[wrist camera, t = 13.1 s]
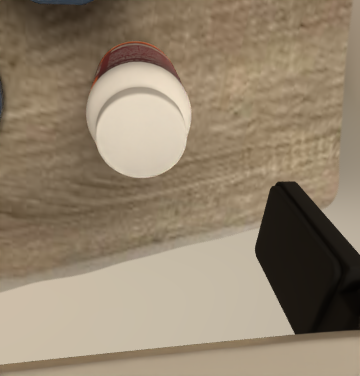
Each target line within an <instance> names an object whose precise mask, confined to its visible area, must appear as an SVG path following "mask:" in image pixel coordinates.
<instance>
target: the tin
mask: <svg viewBox="0 0 360 376" xmlns="http://www.w3.org/2000/svg"><path fill="white" fill-rule="evenodd" d="M31 1H33V2H35V3H38V4H62V5H85V4H87V3H89V2H92V1H94V0H31Z"/></svg>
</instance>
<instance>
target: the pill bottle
mask: <svg viewBox="0 0 360 376" xmlns="http://www.w3.org/2000/svg"><path fill="white" fill-rule="evenodd" d="M191 117H192V114H191V105H190V101H189V98H188V95H187V93H186V90H185V88H184V87H183V85H182V83H181V81H180V79H179V77H178V75H177V73H176V70H175V69H174V67H173V65H172V63H171V61H170V60H169V58H168V57H167V56H166V55H165V54H164V53H163V52H162V51H161V50H160V49H158V48H157V47H155V46H154V45H152V44H149V43H146V42H143V41H127V42H123V43H120V44H118V45H116V46H114V47H113V48H112V49H110V50H109V51H108V52H107V53H106V54H105V55H104V57H103V58H102V60H101V62H100V64H99V66H98V69H97V72H96V75H95V78H94V81H93V84H92V87H91V90H90V94H89V97H88V101H87V106H86V119H87V125H88V128H89V131H90V133H91V135H92V138H93V139H94V141H95V142H96V145H97V148H98V151H99V153H100V155H101V156H102V158H103V159H104V161H105V162H106V163H107V164H108V165H109V166H110V167H111V168H113V169H114V170H115V171H117V172H119V173H121V174H123V175H126V176H129V177H134V178H149V177H153V176H157V175H160V174H162V173H164V172H166V171H167V170H169V169H170V168H171V167H173V166H174V165H175V164H176V163H177V162H178V160H179V159H180V158H181V156H182V154H183V152H184V149H185V147H186V142H187V135H188V132H189V129H190V125H191Z"/></svg>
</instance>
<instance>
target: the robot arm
mask: <svg viewBox="0 0 360 376" xmlns="http://www.w3.org/2000/svg"><path fill="white" fill-rule="evenodd" d="M255 253H256V257H257V259H258V261H259V263H260V265H261V267H262V268H263V271H264V272H265V274H266V277H267V279H268V281H269V283H270V285H271V287H272V289H273V291H274V293H275V295H276V297H277V299H278V301H279V303H280V305H281V307H282V309H283V311H284V313H285V315H286V317H287V319H288V321H289V323H290V325H291V327H292V329H293V331H294V333H295V335H286V336H275V337H265V338H255V339H244V340H234V341H224V342H215V343H204V344H194V345H184V346H175V347H164V348H155V349H145V350H136V351H125V352H117V353H107V354H96V355H87V356H78V357H69V358H59V359H50V360H41V361H31V362H22V363H13V364H4V365H0V376H360V255H359V254H358V252H357V251H356V250H355V249H354V248H353V247H352V245H351V244H350V243H349V242H348V241H347V240H346V239H345V237H344V236H343V235H342V234H341V233H340V232H339V231H338V229H337V228H336V227H335V226H334V225H333V224H332V223H331V221H330V220H329V219H328V218H327V217H326V216H325V215H324V213H323V212H322V211H321V210H320V209H319V208H318V207H317V205H316V204H315V203H314V202H313V201H312V200H311V199H310V197H309V196H308V195H307V194H306V193H305V192H304V191H303V189H302V188H301V187H300V186H299V185H298V184H297V183H296V182H277V183H276V185H275V186H272V187H271V189H270V192H269V196H268V200H267V204H266V207H265V211H264V215H263V219H262V223H261V226H260V230H259V234H258V238H257V242H256V246H255Z"/></svg>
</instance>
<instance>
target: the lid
mask: <svg viewBox="0 0 360 376" xmlns="http://www.w3.org/2000/svg"><path fill="white" fill-rule="evenodd" d="M3 104H4V102H3V89H2V84H1V80H0V121H1V117H2V113H3Z"/></svg>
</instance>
